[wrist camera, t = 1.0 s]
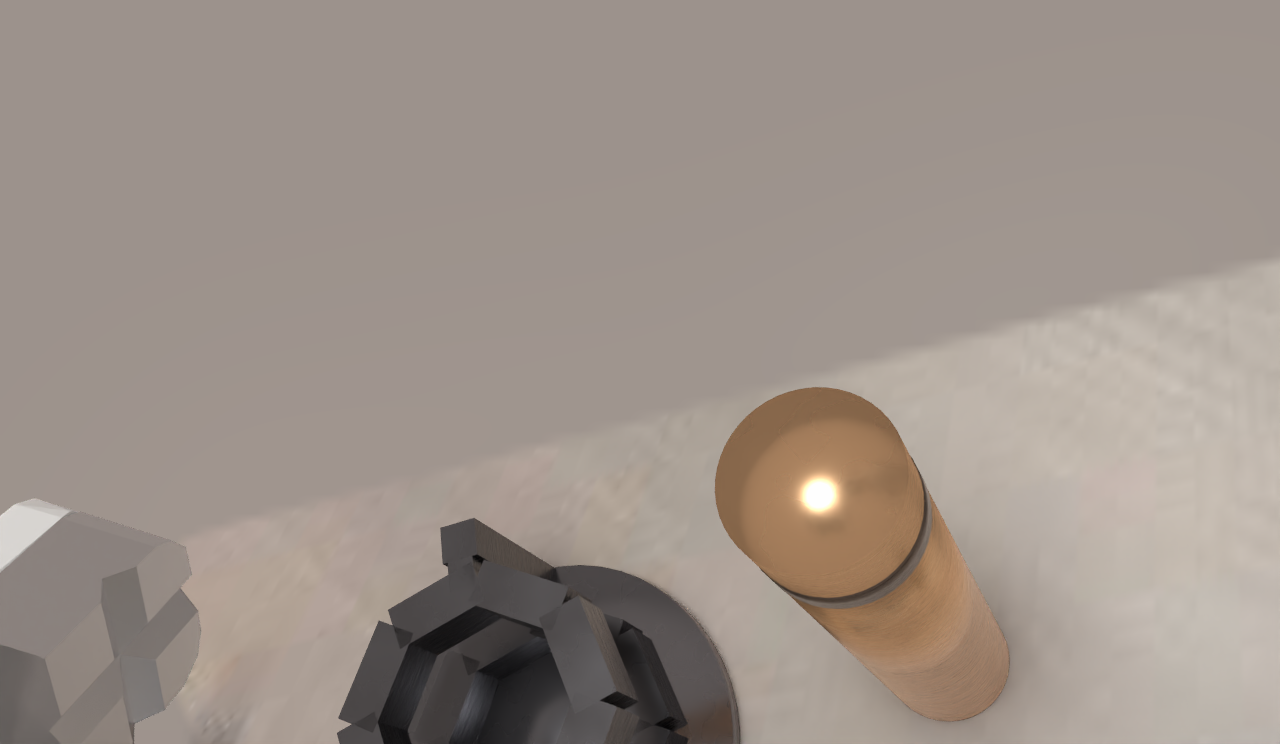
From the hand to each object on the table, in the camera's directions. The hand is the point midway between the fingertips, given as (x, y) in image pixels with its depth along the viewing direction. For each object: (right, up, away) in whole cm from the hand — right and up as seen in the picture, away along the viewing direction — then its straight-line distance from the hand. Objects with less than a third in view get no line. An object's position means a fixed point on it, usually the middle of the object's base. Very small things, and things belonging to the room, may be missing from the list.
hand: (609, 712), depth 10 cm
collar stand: (-3, -12, +37) cm, 39 cm away
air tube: (+11, -7, +34) cm, 36 cm away
